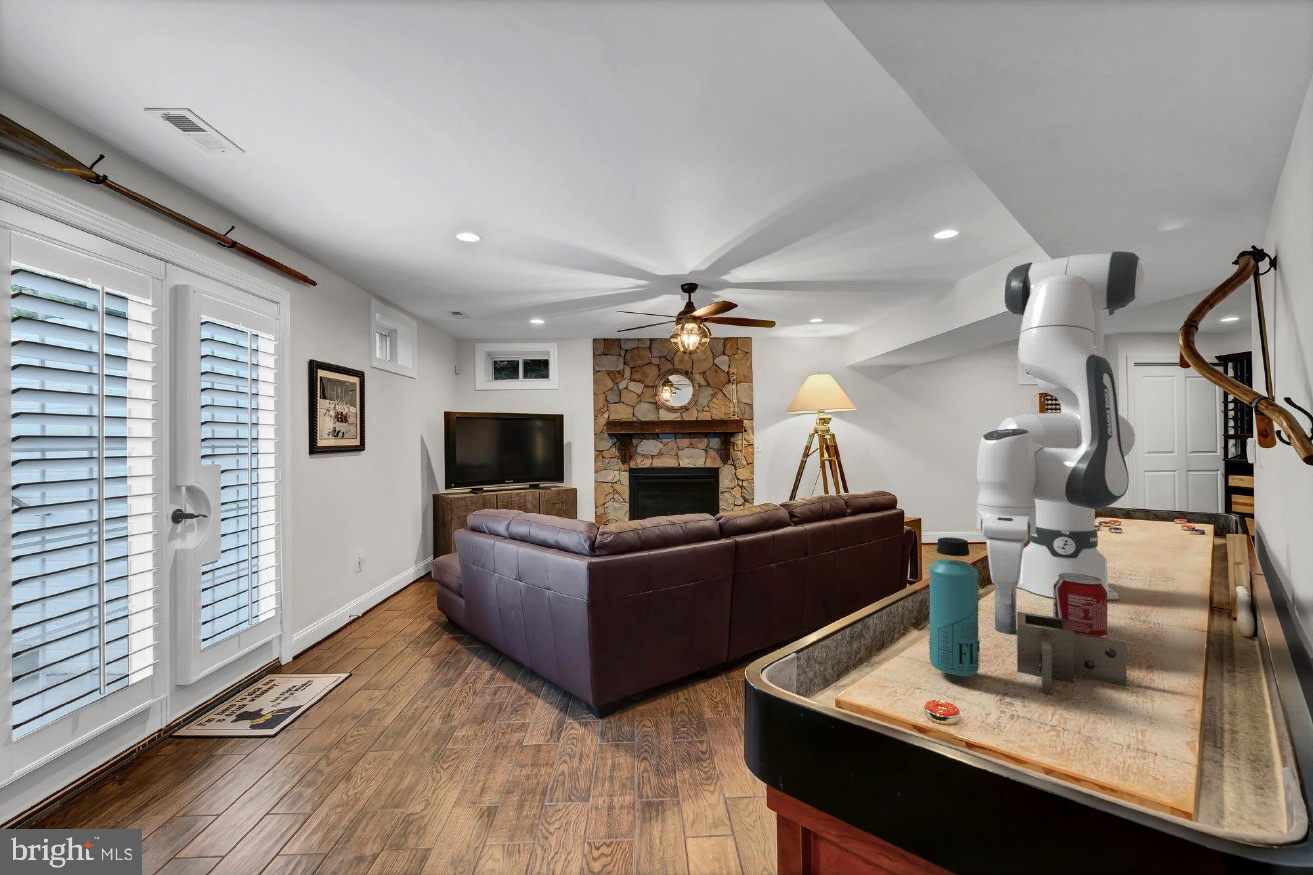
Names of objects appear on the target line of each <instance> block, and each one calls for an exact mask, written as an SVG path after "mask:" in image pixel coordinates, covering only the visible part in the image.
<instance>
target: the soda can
mask: <svg viewBox="0 0 1313 875" xmlns="http://www.w3.org/2000/svg"><path fill="white" fill-rule="evenodd" d="M1058 577H1059V579H1058V580H1057V581H1056V582H1055V583H1054V585H1053V597H1052V598H1053V606H1052V607H1053V609H1052V610H1053V611H1052V612H1053V616H1052V617H1057V618H1064V619H1070V621H1071V625H1072V628H1073V632H1076V633H1082V634H1089V635H1095V636H1101V637H1108V599H1107V591H1106V590H1105V588H1104V587H1103V586H1102V584H1101V583H1102V580H1101V579H1100V578H1097V577H1094V576H1090V575H1085V574H1077V573H1061V574H1058Z"/></svg>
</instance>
